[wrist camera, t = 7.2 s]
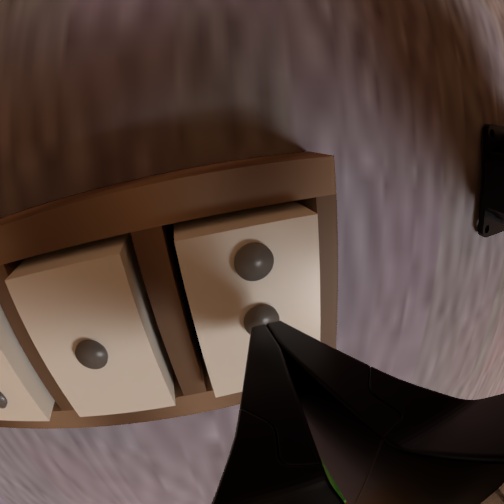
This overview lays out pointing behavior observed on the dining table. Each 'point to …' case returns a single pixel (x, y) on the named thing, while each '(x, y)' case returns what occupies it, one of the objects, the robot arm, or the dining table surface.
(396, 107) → the dining table surface
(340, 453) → the robot arm
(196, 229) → the tile three dots
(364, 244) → the dining table surface
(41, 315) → the tile one dot
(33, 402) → the tile two dots
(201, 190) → the walnut board
